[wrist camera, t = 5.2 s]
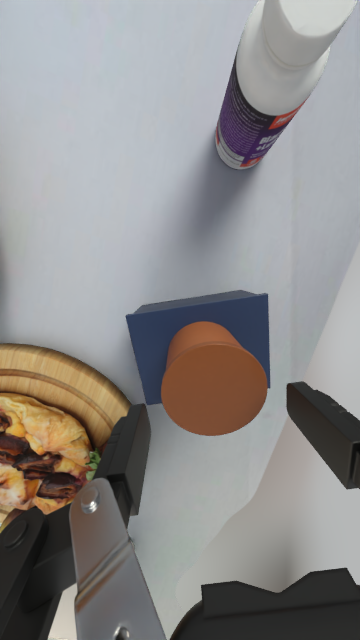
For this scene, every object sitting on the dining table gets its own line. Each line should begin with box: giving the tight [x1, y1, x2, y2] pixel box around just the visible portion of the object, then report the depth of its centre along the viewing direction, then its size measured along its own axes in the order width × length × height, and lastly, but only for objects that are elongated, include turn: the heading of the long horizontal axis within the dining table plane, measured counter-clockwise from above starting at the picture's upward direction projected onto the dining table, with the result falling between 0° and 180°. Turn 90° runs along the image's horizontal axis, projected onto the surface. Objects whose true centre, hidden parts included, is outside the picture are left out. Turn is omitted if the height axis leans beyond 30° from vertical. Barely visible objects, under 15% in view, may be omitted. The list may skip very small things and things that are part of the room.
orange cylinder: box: [161, 321, 268, 436], centre depth 14 cm, size 7×7×6 cm
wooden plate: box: [0, 343, 131, 533], centre depth 22 cm, size 32×32×8 cm
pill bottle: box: [215, 0, 358, 169], centre depth 12 cm, size 5×5×10 cm
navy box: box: [126, 290, 270, 405], centre depth 19 cm, size 12×9×6 cm
